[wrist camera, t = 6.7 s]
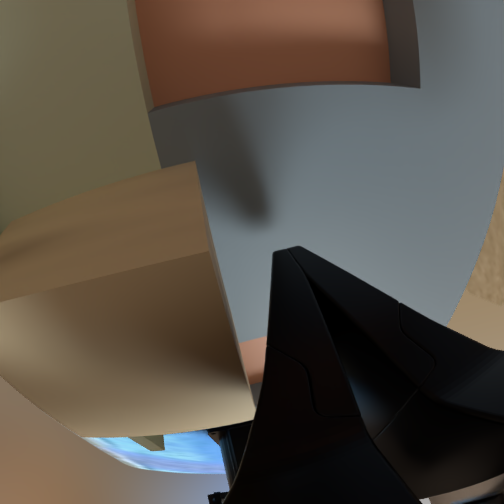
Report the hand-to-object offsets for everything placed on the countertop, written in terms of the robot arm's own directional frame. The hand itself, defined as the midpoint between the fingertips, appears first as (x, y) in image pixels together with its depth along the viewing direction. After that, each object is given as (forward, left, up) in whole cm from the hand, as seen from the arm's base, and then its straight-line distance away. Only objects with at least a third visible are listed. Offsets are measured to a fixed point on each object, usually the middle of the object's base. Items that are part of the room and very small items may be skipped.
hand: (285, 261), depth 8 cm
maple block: (0, +5, -1) cm, 5 cm away
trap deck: (0, -1, -3) cm, 3 cm away
